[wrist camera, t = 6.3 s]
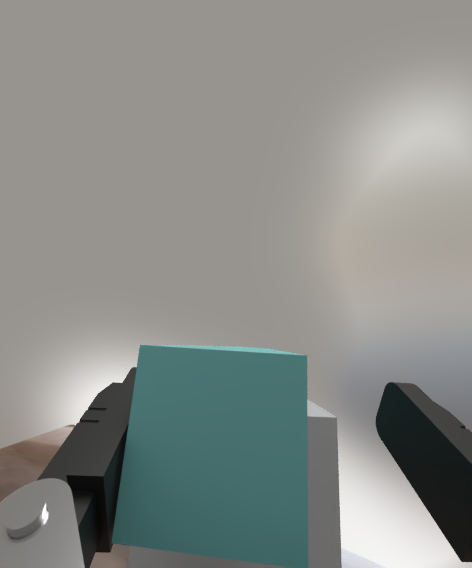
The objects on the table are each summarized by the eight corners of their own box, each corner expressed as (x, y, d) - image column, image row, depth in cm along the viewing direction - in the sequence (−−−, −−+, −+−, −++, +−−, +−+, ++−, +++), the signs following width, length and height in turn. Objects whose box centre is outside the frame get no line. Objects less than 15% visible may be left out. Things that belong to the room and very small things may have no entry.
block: (308, 570, 5) (306, 355, 6) (111, 542, 5) (140, 345, 6) (264, 380, 32) (265, 348, 33) (232, 378, 32) (234, 346, 33)
